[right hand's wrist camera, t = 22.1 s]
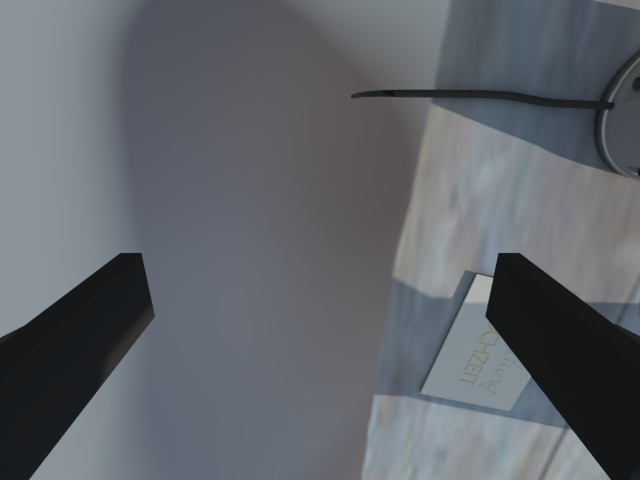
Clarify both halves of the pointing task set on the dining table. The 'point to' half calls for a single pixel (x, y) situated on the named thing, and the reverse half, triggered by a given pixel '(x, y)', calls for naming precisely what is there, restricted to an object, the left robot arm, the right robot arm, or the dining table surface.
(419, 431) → the dining table surface
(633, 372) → the right robot arm
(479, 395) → the invitation card
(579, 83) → the dining table surface
